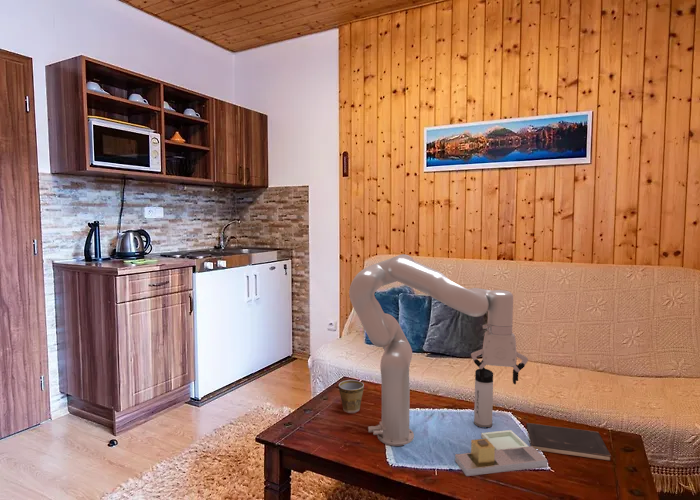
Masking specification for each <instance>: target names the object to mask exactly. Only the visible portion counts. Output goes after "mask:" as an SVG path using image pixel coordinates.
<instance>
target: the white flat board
mask: <svg viewBox="0 0 700 500" xmlns="http://www.w3.org/2000/svg"><path fill="white" fill-rule="evenodd" d="M454 456H455V457H454V462H456V464H457V465H458V467H459V468H460V469H461V471H462V472H463V474H464V475H465V477H470V476H471V477H472V476H481V475H487V474H498V473H504V472H505V473H506V472H515V471H521V470H522V471H523V470H531V469H538V468H539V469H540V468H546V467H547V468H548V459H547V458H546V457H545V456H544V455H542V454H541V453H540V451H539V450H536V449H535V448H533V447H532V446H531V445H530V446H529V445H528V447H519V448H510V449H501V450H495V454H494V465H493V466H484V467H476V465H475V464H474V463H473V462H472V460H471V452H466V453H458V454H455V455H454Z"/></svg>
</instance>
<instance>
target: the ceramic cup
mask: <svg viewBox="0 0 700 500" xmlns="http://www.w3.org/2000/svg"><path fill="white" fill-rule="evenodd" d="M364 389H365V384H364V382H362V381H360V380H357V379H356V380H355V379H347V380H343V381H341V382H339V383H338V390H339V396H340V400H341V404H342V409H343V412H345V413H347V414H355V413H357V412H359V411H360V409H361V402H362V399H363V393H364Z"/></svg>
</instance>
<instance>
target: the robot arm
mask: <svg viewBox="0 0 700 500" xmlns="http://www.w3.org/2000/svg"><path fill="white" fill-rule="evenodd" d="M396 282H398V283H401V284H403V285H405V286H408V287H409V288H412V289H415V290H416V291H418V292H421V293H423V294H426V295H428V296H430V297H432V298H433V299H434V300H437V301H439V302H441V304H444V305H446V306H448V307H449V308H451V309H454V310H456V311H458V312H460V313H463V314H465V315H467V316H470V317H475V318H478V317H482V316H484V315H485V314H486V313H487V323H485V324H482V329H483V330H486V331H485V333H484V336H483V341H482V348H481V349H479V350H476V351H473V352H472V353H470V356H471V359H472V361H473V363H474V364H475V365H476V366H477V367H478V369H480V374H479V377H480V378H482V381H484V368H485V367H486V366H494V367H495V366H496V367H507V368H509V367H510V368H513V369H512V384H514V385H516V384H517V382H518V381H519V373H520V371H521V370H522V369H523V368H525V366H526V365H527V363H528V362H529V358H528V357H527V356H525V355H523V354H522V353H520V352H518V351H517V340H516V335H515V333H513V324H514V323H513V320H514V319H513V318H514V315H513V314H514V294H513V293H512V292H511V291H509V290H505V289H494V290H490V289H486V288H485V289H484V288H480V287H479V288H478V287H473V288H466V287H464V286H462V285H460V284H458V283H456V282H454V281H453V280H451V279H449V277H447V276H446V274H444V273H442V272H441V271H439V270H437V269H435V268H432V267H430V266H428V265H426V264H424V263H423V264H422V263H420V262H419V261H416V260H415V259H414V258H413V257H411V255H408V254H405V253H404V254H397V255H395V256H393V257H391V258H389V259H386V260H382V261H378V262H377V263H374V264H371V265H369V266H367V267H365V268H363V269H362V270H360V271H359V272H358V273H357V274H356V275H355V276H354V277H353V279H352V281H351V283H350V286H349V289H348V290H349V291H348V294H349V295H348V296H349V300H350V303H351V306H352V307H353V309H354V311H355V313H356V315H357V317H358V318H359V321H360V323H361V325H362V326H363V329H364V331H365V332H366V334H367V337H368V339H369V341H370V342H371V343H372V344H373V345H374V346H376V347H378V348H382V349H383V354H382V356H381V359H380V376H381V377H380V378H381V379H380V380H381V381H380V382H381V420H380V421H379V423H378V424H376V425H375V426H374V425H371V426H367V430H368V433H373V436H376V437H377V439H378V440H379V442H381V443H383V444H384V445H387V446H394V447H402V446H405V445H408V444H410V443H411V442H413V440H414V438H415V434H414V431H413V430H412V429H410V395H411V393H410V390H411V389H410V367H411V366H410V365H411V362H412V358H413V349H412V346H411V344H410V342H409V341H408V338H407V337H406V335H405V333H404V331H403V328H402V327H401V325H400V324H399V322H398V320H397V319H396V318H395V317H394V316H393V315H391V314H389V313H385V312H384V310H383V309H382V306H381V304H380V302H379V300H377V298H376V296H375V293H376V292H377V291H378V290H379V289H381V287H384V286H387V285H389V284H392V283H396ZM481 355H482V360H481V361H480V360H479V358H477V357H478V356H481ZM517 358H519V360H521V361H520V363H518V364H517Z"/></svg>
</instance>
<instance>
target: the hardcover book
mask: <svg viewBox="0 0 700 500" xmlns="http://www.w3.org/2000/svg"><path fill="white" fill-rule="evenodd" d="M525 423H526V424H525V427H526V428H527V433H529V434H528V438H529V442H531V443H530V446H532V447H533V448H535V449H538V450H537V451H539V450H541V451H540V452H548V453H554V454H562V455H568V456H569V455H570V456H576V457H583V458H590V459H597V460H603V461H604V460H605V461H611V457H612V455H611V453H610V451H609V450H608V448H607V446H606V444H605V441H604V440H603V438H602V436H601V435H600V432H599V431H594V430H587V429H579V428H571V427H564V426H563V427H562V426H557V425H556V426H555V425H546V424H541V423H533V422H532V423H530V422H525Z"/></svg>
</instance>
